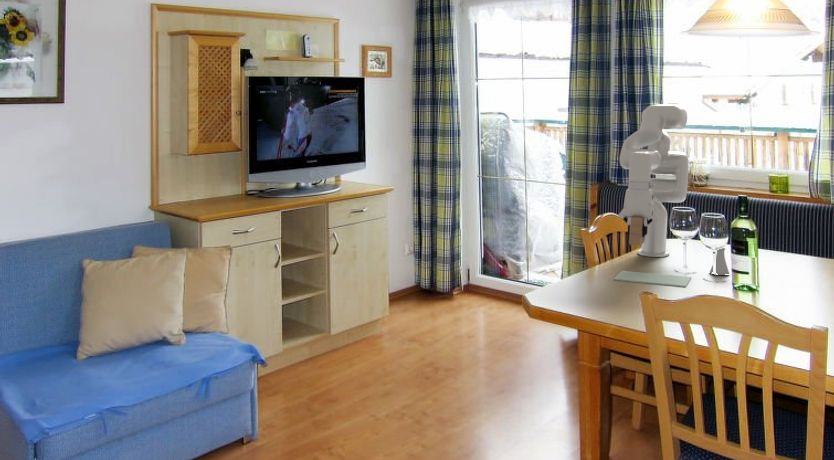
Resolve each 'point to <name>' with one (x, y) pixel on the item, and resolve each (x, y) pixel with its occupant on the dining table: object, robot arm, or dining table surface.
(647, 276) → the sage mat
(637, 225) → the walnut slab
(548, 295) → the dining table surface
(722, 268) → the flask
